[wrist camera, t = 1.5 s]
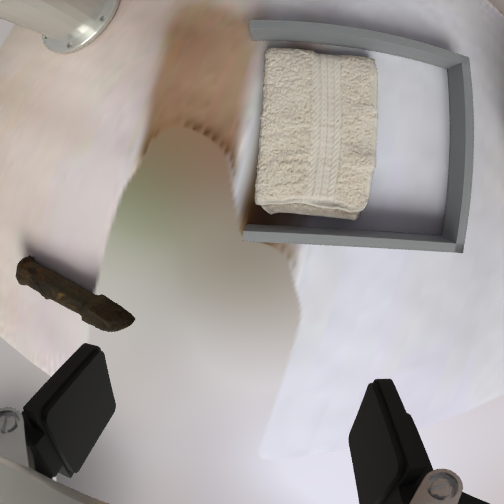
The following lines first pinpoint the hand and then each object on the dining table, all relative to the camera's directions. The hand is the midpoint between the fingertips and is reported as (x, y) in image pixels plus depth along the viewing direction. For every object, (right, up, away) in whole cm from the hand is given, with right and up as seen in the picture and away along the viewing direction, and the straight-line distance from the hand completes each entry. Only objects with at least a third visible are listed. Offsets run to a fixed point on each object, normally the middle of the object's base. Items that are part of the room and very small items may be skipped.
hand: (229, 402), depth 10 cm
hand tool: (-23, 0, +28) cm, 36 cm away
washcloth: (+7, +18, +21) cm, 29 cm away
